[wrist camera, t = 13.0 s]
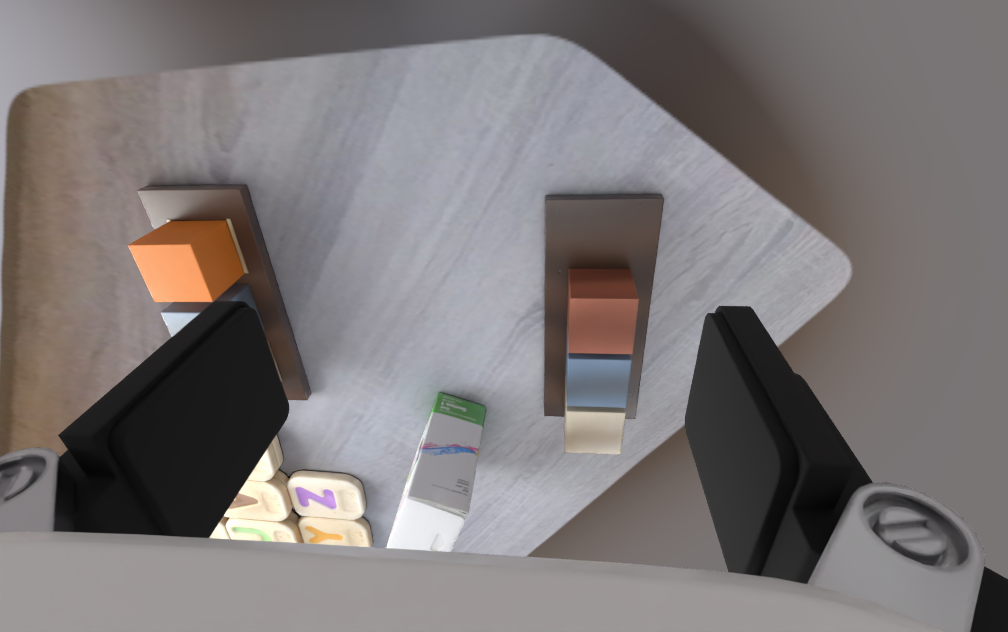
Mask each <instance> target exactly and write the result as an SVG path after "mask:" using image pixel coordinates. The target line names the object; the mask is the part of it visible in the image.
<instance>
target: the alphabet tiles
mask: <svg viewBox="0 0 1008 632" xmlns="http://www.w3.org/2000/svg"><path fill="white" fill-rule="evenodd" d="M282 463H283V454H282V451H281V447H280V444H279V440H278V437H277V435H276V436H275V438H274V439H273V441H272V442H271V444H270V445H269V447H268V449H267V450H266V452H265V453H264V455H263V456H262V458H261V459H260V461H259V462H258V464H257V465H256V467H255V468H254V470H253V472H252V473H251V475H250V476H249V478H248V479H247V481H246V482H245V484H244V485H243V487H242V488H241V490H240V492H239V493H238V495H237V496H236V498H235V499H234V501H233V502H232V504H231V505H230V507H229V508H228V510H227V511H226V513H225V515H224V516H223V518H222V519H221V521H220V522H219V524H218V525H217V527H216V528H215V530H214V531H213V533H212V534H211V536H210V538H216V539H234V540H253V541H272V542H290V543H307V544H324V545H342V546H359V547H372V544H373V539H372V534H371V530H370V525H369V523H368V522H367V521H366V520H365V519H364V518H362V515H363V514H364V512H365V509H366V499H365V494H364V489H363V486H362V484H361V482H360V481H359V480H358V479H356V478H354V477H353V476H351V475H347V474H340V473H330V472H316V471H304V470H303V471H297V472H295V473H293V474H292V475H291V477H290V479H289V478H288V477H287V476H286V475H285V474H284V473H283V472H281V471H279V470H278V469H279V467H280V466H281V464H282ZM293 506H294V508H295V510H296V512H297V513H298V514H300V515H301V518H299V516H298V515H297V514H295V513H294V512H292V511H291V510H292V508H293Z"/></svg>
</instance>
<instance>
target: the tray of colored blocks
mask: <svg viewBox="0 0 1008 632" xmlns="http://www.w3.org/2000/svg"><path fill="white" fill-rule="evenodd" d="M137 191H138V194H139V196H140V198H141V201H142V203H143V205H144V208H145V210H146V212H147V215H148V217H149V219H150V222H151V224H152V226H153V228H154V230H155V229H157V228H159V227H161V226H162V225H164V224H166V223H167V222H169V221H219V220H226V222H227V225H228V228H229V231H230V234H231V237H232V239H233V242H234V245H235V248H236V251H237V254H238V257H239V260H240V262H241V265H242V268H243V271H244V275H242V276H241V277H240V278H239V279H238V280H237V281H236V282H235V283H234V284H232V285H231V286H230V287H229V288H228V289H227V290H226V291H225V292H224V293H222V294H221V295H220V296H219V297H218V298H217V299H216V300H215V301H244V302H246V303H247V304H248V305H249V306H250V308H253V309H255V310H256V312H257V314H258V316H259V319H260V322H261V325H262V328H263V330H264V333H265V336H266V339H267V342H268V345H269V348H270V351H271V353H272V356H273V359H274V362H275V365H276V368H277V371H278V374H279V377H280V379H281V382H282V385H283V388H284V391H285V394H286V397H287V400H308V398H309V396H310V395H311V391H310V388H309V384H308V381H307V378H306V375H305V372H304V368H303V365H302V362H301V359H300V356H299V352H298V349H297V346H296V343H295V339H294V336H293V333H292V330H291V327H290V323H289V320H288V317H287V314H286V311H285V307H284V304H283V301H282V298H281V295H280V291H279V288H278V285H277V282H276V279H275V275H274V272H273V269H272V266H271V263H270V259H269V256H268V253H267V250H266V247H265V243H264V240H263V237H262V234H261V231H260V227H259V224H258V221H257V218H256V214H255V211H254V208H253V205H252V202H251V198H250V195H249V192H248V189H247V186H246V185H208V186H146V187H143V188H141V189H139V190H137ZM213 302H214V301H213ZM213 302H173V303H172V304H171V305H169V306H168V307H167V308H165V309H164V310H163V311H162V312H161V314H162V317H163V319H164V321H165V323H166V325H167V327H168V329H169V332H170V334H171V336H172V337H173V336H174V335H175V334H176V333H177V332H179V331H180V330H181V329H182V328H183V327H184V326H185V325H187V324H188V323H189V322H190V321H191V320H192V319H194V318H195V317H196V316H197V315H198V314H199V313H201V312H202V311H203V310H204V309H205V308H206V307H208V306H209V305H210V304H211V303H213Z"/></svg>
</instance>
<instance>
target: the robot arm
mask: <svg viewBox="0 0 1008 632" xmlns="http://www.w3.org/2000/svg"><path fill="white" fill-rule="evenodd" d="M288 414H289V403H288V400H287V397H286V394H285V391H284V388H283V385H282V382H281V379H280V377H279V374H278V371H277V368H276V365H275V362H274V359H273V356H272V353H271V351H270V348H269V345H268V342H267V339H266V336H265V333H264V330H263V328H262V325H261V322H260V319H259V316H258V314H257V312H256V310H255V309H253V308H250V306H249V305H248V304H247V303H246V302H244V301H214V302H213V303H211V304H210V305H209V306H208V307H206V308H205V309H204V310H203V311H202V312H201V313H199V314H198V315H197V316H196V317H195V318H194V319H192V320H191V321H190V322H189V323H188V324H187V325H185V326H184V327H183V328H182V329H181V330H180V331H179V332H177V333H176V334H175V335H174V336H173V337H172V338H170V339H169V340H168V341H167V342H166V343H165V344H163V345H162V346H161V347H160V348H159V349H158V350H156V351H155V352H154V353H153V354H152V355H151V356H150V357H148V358H147V359H146V360H145V361H144V362H143V363H141V364H140V365H139V366H138V367H137V368H136V369H134V370H133V371H132V372H131V373H130V374H129V375H128V376H126V377H125V378H124V379H123V380H122V381H121V382H119V383H118V384H117V385H116V386H115V387H114V388H112V389H111V390H110V391H109V392H108V393H107V394H105V395H104V396H103V397H102V398H101V399H100V400H99V401H97V402H96V403H95V404H94V405H93V406H92V407H90V408H89V409H88V410H87V411H86V412H85V413H83V414H82V415H81V416H80V417H79V418H78V419H76V420H75V421H74V422H73V423H72V424H71V425H70V426H68V427H67V428H66V429H65V430H64V431H63V432H61V433H60V434H59V435H58V436H59V437H60V438H61V440H62V441H63V443H64V444H65V446H66V447H67V449H68V450H67V451H66V452H65V453H64V454H63V455H62V456H61V457H59V456H58V454H57V453H56V452H54V451H53V450H51V449H50V448H42V447H35V448H27V449H22V450H18V451H15V452H11V453H8V454H5V455H3V456H0V632H1008V579H1006V578H1004V577H1003V576H1001V575H999V574H997V573H995V572H994V571H992V570H990V569H988V568H986V567H985V566H984V565H985V555H984V548H983V546H982V544H981V542H980V540H979V538H978V536H977V534H976V533H975V532H974V530H973V529H972V528H971V527H970V526H969V525H968V524H967V523H966V521H965V520H964V519H963V518H962V517H961V516H959V515H958V514H957V513H955V512H954V511H953V510H952V509H950V508H949V507H948V506H946V505H945V504H943V503H941V502H940V501H938V500H936V499H934V498H932V497H931V496H929V495H927V494H925V493H922V492H919V491H917V490H914V489H912V488H909V487H906V486H902V485H897V484H891V483H873V482H872V481H871V479H870V478H869V476H868V475H867V473H866V471H865V470H864V468H863V467H862V465H861V464H860V462H859V461H858V460H857V458H856V457H855V455H854V453H853V452H852V451H851V449H850V447H849V446H848V444H847V443H846V441H845V440H844V438H843V437H842V436H841V434H840V432H839V431H838V429H837V428H836V426H835V425H834V423H833V422H832V420H831V419H830V418H829V416H828V414H827V413H826V411H825V410H824V408H823V407H822V405H821V404H820V402H819V401H818V399H817V398H816V396H815V395H814V394H813V392H812V390H811V389H810V387H809V386H808V384H807V383H806V381H805V380H804V379H803V378H802V377H801V376H800V375H798V374H795V373H794V372H793V371H792V369H791V367H790V366H789V364H788V363H787V361H786V360H785V358H784V357H783V355H782V354H781V352H780V351H779V349H778V347H777V346H776V344H775V343H774V341H773V340H772V338H771V337H770V335H769V334H768V332H767V330H766V329H765V327H764V326H763V324H762V323H761V321H760V320H759V318H758V317H757V315H756V313H755V312H754V310H753V309H752V308H751V307H748V306H719V307H718V308H717V309H716V311H715V313H708V314H707V315H706V317H705V321H704V325H703V330H702V335H701V340H700V345H699V350H698V355H697V360H696V365H695V370H694V375H693V380H692V385H691V390H690V395H689V400H688V405H687V410H686V415H685V428H686V434H687V437H688V440H689V444H690V447H691V450H692V453H693V457H694V460H695V463H696V467H697V470H698V473H699V476H700V480H701V483H702V486H703V490H704V493H705V496H706V499H707V503H708V506H709V509H710V512H711V516H712V519H713V522H714V526H715V529H716V532H717V535H718V539H719V542H720V545H721V549H722V552H723V555H724V559H725V562H726V565H727V568H728V572H723V571H713V570H700V569H688V568H676V567H664V566H650V565H638V564H626V563H613V562H599V561H583V560H568V559H552V558H536V557H521V556H506V555H490V554H475V553H459V552H443V551H426V550H409V549H393V548H376V547H359V546H342V545H324V544H307V543H290V542H272V541H253V540H234V539H216V538H210V536H211V534H212V533H213V531H214V530H215V528H216V527H217V525H218V524H219V522H220V521H221V519H222V518H223V516H224V515H225V513H226V511H227V510H228V508H229V507H230V505H231V504H232V502H233V501H234V499H235V498H236V496H237V495H238V493H239V492H240V490H241V488H242V487H243V485H244V484H245V482H246V481H247V479H248V478H249V476H250V475H251V473H252V472H253V470H254V468H255V467H256V465H257V464H258V462H259V461H260V459H261V458H262V456H263V455H264V453H265V452H266V450H267V449H268V447H269V445H270V444H271V442H272V441H273V439H274V438H275V436H276V435H277V433H278V432H279V430H280V429H281V427H282V426H283V424H284V422H285V421H286V419H287V417H288Z"/></svg>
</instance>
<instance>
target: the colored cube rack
mask: <svg viewBox="0 0 1008 632" xmlns="http://www.w3.org/2000/svg"><path fill="white" fill-rule="evenodd" d="M663 203H664V198H663V196H662V194H625V195H546V196H545V390H544V415H545V416H562V417H564V436H565V452H566V453H591V454H617V455H620V454H621V448H622V440H623V431H624V423H625V419H635V416H636V408H637V401H638V393H639V385H640V378H641V370H642V363H643V355H644V347H645V340H646V332H647V325H648V317H649V309H650V302H651V294H652V287H653V279H654V271H655V264H656V256H657V249H658V241H659V233H660V226H661V218H662V211H663Z"/></svg>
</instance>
